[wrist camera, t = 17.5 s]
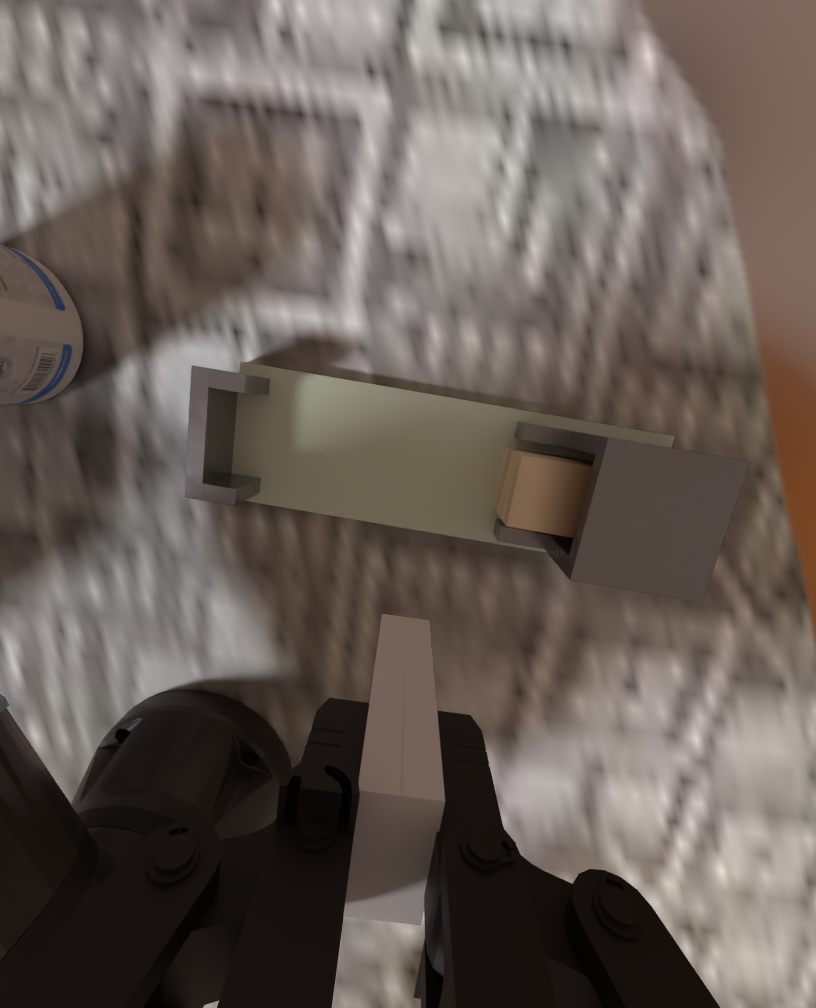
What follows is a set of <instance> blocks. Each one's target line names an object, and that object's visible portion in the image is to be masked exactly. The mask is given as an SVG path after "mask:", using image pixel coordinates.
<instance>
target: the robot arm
mask: <svg viewBox="0 0 816 1008" xmlns="http://www.w3.org/2000/svg"><path fill="white" fill-rule="evenodd" d="M8 706H9V703H8V702H7V700H6V698H5V697H4V696H2V695H1V694H0V1008H203V1007H204V1005H206V1004H209V1003H212V1002H215V1001H218V1000H219V1003H218V1006H217V1008H331V1007H332V1000H333V992H334V984H335V977H336V969H337V961H338V954H339V946H340V938H341V931H342V923H343V916H349V917H357V918H365V919H373V920H381V921H390V922H398V923H406V924H414V925H421V921H422V916H423V911H424V912H425V940H424V945H423V950H422V955H421V960H420V965H419V970H418V974H417V979H416V986H415V992H414V998H419V999H420V997H421V1008H720V1007H719V1005H718V1004H717V1002H716V1001H715V999H714V998H713V996H712V995H711V993H710V992H709V990H708V989H707V987H706V986H705V985H704V983H703V982H702V980H701V979H700V977H699V976H698V974H697V973H696V971H695V970H694V968H693V967H692V965H691V964H690V962H689V961H688V960H687V958H686V957H685V955H684V954H683V952H682V951H681V949H680V948H679V946H678V945H677V943H676V942H675V940H674V939H673V937H672V936H671V935H670V933H669V932H668V930H667V929H666V927H665V926H664V924H663V923H662V921H661V920H660V918H659V917H658V915H657V914H656V912H655V911H654V910H653V908H652V907H651V905H650V904H649V903H648V902H647V901H646V900H645V898H644V897H643V896H642V895H641V894H640V892H639V891H638V890H637V889H635V888H634V887H633V886H632V885H630V884H629V883H628V882H626V881H625V880H624V879H622V878H621V877H619V876H617V875H614V874H612V873H610V872H607V871H605V870H595V869H589V870H587V871H584V872H582V873H580V874H578V876H577V878H576V879H575V881H574V883H573V884H571V883H569V882H567V881H565V880H563V879H560V878H558V877H556V876H554V875H552V874H549V873H547V872H545V871H543V870H541V869H540V868H538V867H536V866H534V865H533V864H531V863H530V862H529V861H527V860H526V859H525V858H524V857H523V856H521V855H520V853H519V851H518V848H517V846H516V844H515V842H514V841H513V839H512V838H511V837H510V836H509V835H508V834H507V832H506V831H505V830H504V828H503V825H502V820H501V816H500V811H499V807H498V802H497V798H496V793H495V789H494V784H493V780H492V775H491V771H490V767H489V762H488V757H487V752H486V751H485V750H486V748H485V743H484V739H483V734H482V731H481V729H480V728H479V727H478V725H477V724H476V722H475V721H474V720H473V718H472V717H471V716H470V715H465V714H457V713H450V712H442V711H437V702H436V691H435V679H434V668H433V657H432V645H431V634H430V623H429V620H424V619H417V618H409V617H402V616H395V615H388V614H382V618H381V625H380V632H379V638H378V645H377V652H376V659H375V666H374V673H373V679H372V686H371V693H370V700H369V703H364V702H357V701H349V700H342V699H334V698H329V699H328V700H327V701H326V702H325V703H324V704H323V705H322V706H321V707H320V708H319V709H318V710H317V712H316V715H315V719H314V722H313V725H312V729H311V732H310V735H309V738H308V741H307V745H306V748H305V751H304V754H303V757H302V761H301V763H300V764H298V765H297V766H295V767H294V768H293V769H291V766H290V762H289V758H288V755H287V752H286V750H285V748H284V746H283V744H282V742H281V741H280V739H279V737H278V736H277V735H276V733H275V732H274V731H273V729H272V728H271V727H270V726H269V725H268V724H267V723H266V722H265V721H264V720H263V719H262V718H261V717H260V716H258V715H257V714H256V713H255V712H253V711H252V710H250V709H249V708H247V707H246V706H244V705H242V704H240V703H238V702H236V701H234V700H232V699H229V698H227V697H224V696H221V695H218V694H214V693H209V692H204V691H194V690H181V691H172V692H166V693H162V694H159V695H156V696H153V697H150V698H148V699H146V700H144V701H142V702H141V703H139V704H138V705H136V706H135V707H133V708H132V709H131V710H130V711H129V712H128V713H127V714H126V715H125V716H124V717H123V718H122V719H121V720H120V721H119V722H118V723H117V724H116V725H115V726H114V727H113V728H112V729H111V730H110V731H109V733H108V734H107V735H106V736H105V738H104V739H103V740H102V742H101V743H100V745H99V746H98V748H97V750H96V752H95V754H94V756H93V758H92V760H91V762H90V764H89V767H88V769H87V771H86V773H85V775H84V777H83V779H82V781H81V783H80V786H79V788H78V790H77V792H76V794H75V796H74V798H73V800H72V802H71V804H70V802H69V801H68V799H67V798H66V796H65V795H64V793H63V792H62V790H61V789H60V787H59V786H58V784H57V783H56V781H55V780H54V778H53V777H52V775H51V774H50V772H49V771H48V769H47V768H46V766H45V765H44V763H43V762H42V760H41V759H40V757H39V756H38V754H37V753H36V751H35V750H34V748H33V747H32V745H31V744H30V743H29V741H28V740H27V738H26V737H25V735H24V734H23V732H22V731H21V729H20V728H19V726H18V725H17V723H16V722H15V720H14V719H13V717H12V716H11V714H10V713H9V711H8V710H7V707H8Z"/></svg>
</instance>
